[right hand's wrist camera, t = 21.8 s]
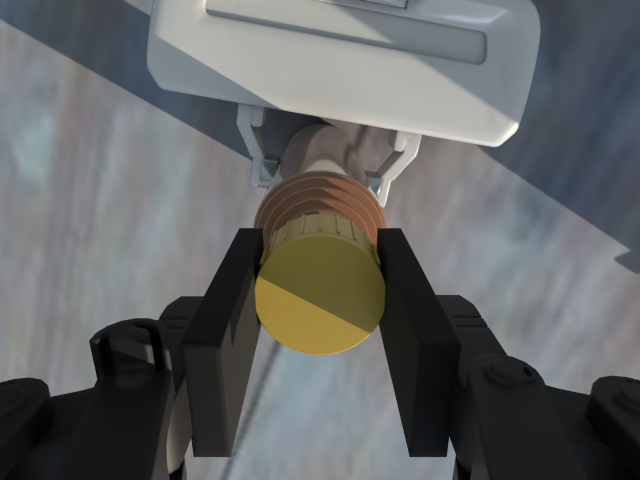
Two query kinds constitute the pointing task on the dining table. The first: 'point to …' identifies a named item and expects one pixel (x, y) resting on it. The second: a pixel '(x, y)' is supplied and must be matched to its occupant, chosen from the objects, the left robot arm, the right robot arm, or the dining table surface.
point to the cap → (320, 285)
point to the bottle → (320, 184)
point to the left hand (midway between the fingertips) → (318, 194)
